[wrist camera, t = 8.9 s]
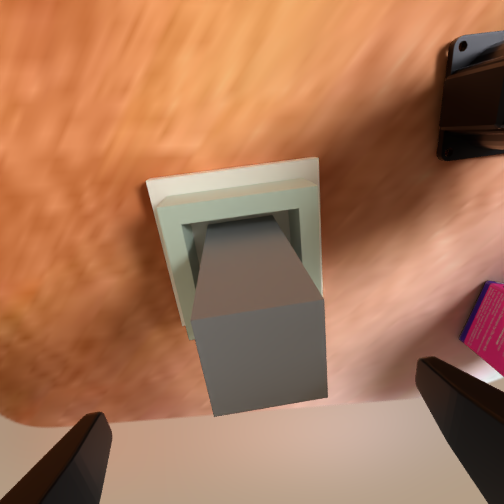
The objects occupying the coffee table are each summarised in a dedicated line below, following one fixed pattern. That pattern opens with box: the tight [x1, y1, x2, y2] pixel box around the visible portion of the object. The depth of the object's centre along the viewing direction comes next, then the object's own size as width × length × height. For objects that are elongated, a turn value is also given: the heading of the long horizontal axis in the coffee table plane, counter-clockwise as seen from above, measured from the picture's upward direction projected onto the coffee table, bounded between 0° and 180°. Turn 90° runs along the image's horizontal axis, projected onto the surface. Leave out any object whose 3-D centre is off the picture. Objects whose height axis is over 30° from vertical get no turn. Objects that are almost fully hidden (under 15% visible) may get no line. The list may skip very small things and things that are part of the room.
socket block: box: [146, 157, 323, 340], centre depth 18 cm, size 10×10×4 cm
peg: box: [190, 215, 328, 417], centre depth 14 cm, size 4×4×10 cm
